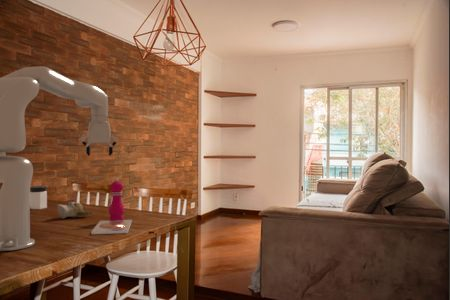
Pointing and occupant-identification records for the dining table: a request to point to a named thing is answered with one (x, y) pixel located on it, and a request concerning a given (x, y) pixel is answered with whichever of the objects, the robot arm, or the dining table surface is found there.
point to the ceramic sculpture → (72, 210)
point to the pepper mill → (116, 201)
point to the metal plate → (112, 227)
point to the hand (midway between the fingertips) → (99, 155)
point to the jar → (38, 197)
